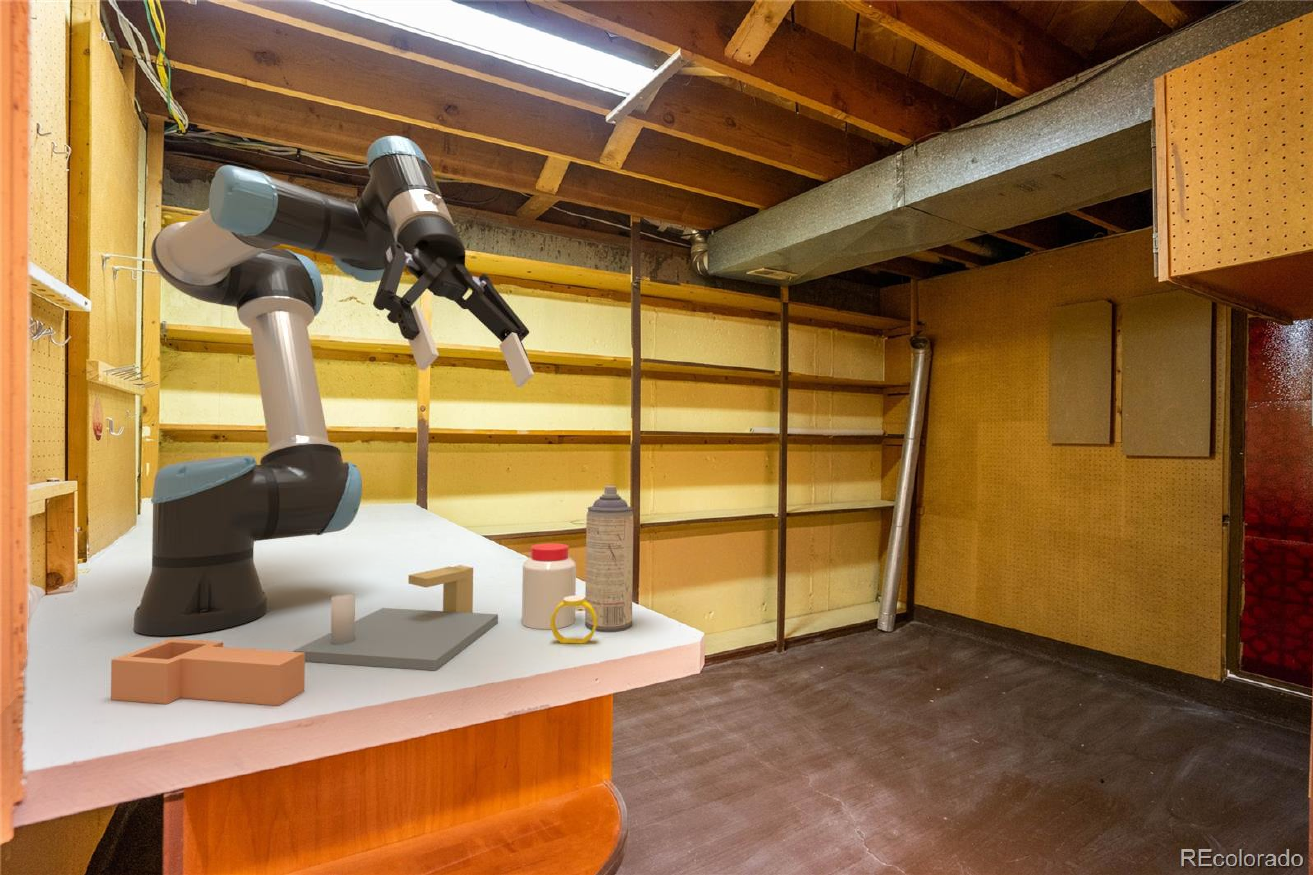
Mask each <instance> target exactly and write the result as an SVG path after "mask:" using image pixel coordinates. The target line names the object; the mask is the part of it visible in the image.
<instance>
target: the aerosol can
mask: <svg viewBox="0 0 1313 875" xmlns="http://www.w3.org/2000/svg"><path fill="white" fill-rule="evenodd" d="M617 492H618V491H617V486H613V485H612V486H610V485H609V486H604V492H603V493H602V494H601V495H600V496H599V498H597V499H596V500H595V501H594V503H593V504H592V505H591V506H588V507H587V512H586V532H585V534H586V538H585V542H586V544H585V597H584V600H585V601H586V602H588V603H589V604H591V605H592V607H593V609H594V610H595V612H596V615H597V627H596V630H595V632H600V633H615V632H621V631H625V630H628V629H630V628H631V627H632V626H633V580H634V579H633V577H634V575H633V571H634V570H633V568H634V567H633V566H634V562H633V561H634V512H633V510H634V509H633V507H631V506H629V505H628V503H627V501H626V500H625V499H623V498H622V496H619V493H617ZM584 620H585V622H584V626H585V627H586V628H587V629H589V630H591V631H592V628H593V617H592V615H591V613H590V612H589V610H588V609H587V608H585V607H584Z"/></svg>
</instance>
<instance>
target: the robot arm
mask: <svg viewBox="0 0 1313 875" xmlns="http://www.w3.org/2000/svg"><path fill="white" fill-rule="evenodd" d="M365 157H366V163H367V164H366V165H367V171H368V174H369V176H370V179H369V181H368V182H367V184H366V186H365V189H364V190H363V192H362V193H361V195H360V197H359V199H358V201H357V202H356V203H354V202H353V203H352V202H350V201H347V200H344V199H342V198H341V199H340V198H338V197H334V196H332V195H327V194H325V193H322V192H320V191H319V192H318V191H315V190H314V189H309V188H307V187H303V186H300V185H299V184H298V185H297V184H295V183H291V182H289V181H285V180H282V179H279V178H276V177H273V176H270V175H267V174H265V173H264V172H260V171H259V170H253V169H252V170H251V169H248V168H247V169H246V168H243V167H240V166H236V165H235V166H234V165H232V164H231V165H229V164H227V165H222V166H220V167H219V168H218V169H217V170H216V172H215V175H214V177H213V178H212V180H211V185H210V187H209V188H210V189H209V197H208V208H207V209H205V210H204V211H202V212H201V213H199V214H198V215H196V216H195V217H193V218H192V219H191V220H190V221H189V220H188V221H180V222H179V221H178V222H174V223H172V224H169V225H168V226H165V227H164V228H163V229H162V230H160V231H159V232H158V233H157V234H156V235H155V237H154V238H153V241H152V243H151V247H150V248H151V249H150V251H151V252H150V254H151V255H150V256H151V260H152V263H153V265H154V267H155V268H156V269H155V270H156V271H157V272H158V273H159V274H160V276H161V277H162V278H163V279H164V280H165V281H166V282H167V283H169V284H170V286H172V287H173V288H175V289H176V290H178V291H180V292H181V293H183V294H184V295H187V296H189V297H191V298H194V299H195V300H199V301H203V302H207V303H210V304H216V305H220V306H227V307H232V308H233V307H234V308H236V311H237V317H238V320H239V322H240V323H241V324H242V325H244V326H245V327H247V328H248V329H250V334H251V341H252V346H253V353H254V359H255V367H256V371H257V372H256V374H257V379H258V386H259V390H260V391H259V392H260V397H261V404H262V411H263V417H264V424H265V429H266V435H267V436H266V437H267V443H268V450H266V452H265V453H264V454H263V455H262V456H260V458H259V459H260V461H259V464H257V461H256V459H255V456H253V455H235V456H226V457H225V456H224V457H223V456H222V457H212V458H211V457H210V458H203V459H202V458H201V459H194V460H187V461H182V462H175V463H172V464H167V465H166V466H163V467H162V468H160V469H159V470H157V472H156V474H155V475H154V481H153V490H152V497H151V501H150V502H151V503H152V540H151V541H152V544H151V545H152V546H151V547H152V550H151V554H152V555H151V558H152V559H151V571H150V576H149V578H148V581H147V583H146V586H145V588H144V591H143V595H142V598H141V601H140V604H139V606H137V607H136V610H135V611H134V614H133V615H134V616H133V630H134V632H136V633H137V634H142V635H148V636H179V635H180V636H181V635H191V634H199V633H206V632H212V631H217V630H222V629H227V628H232V627H235V626H239V625H242V624H243V625H244V624H246V623H248V622H249V623H250V622H252V621H255V620H256V619H258V618H261V617H263V616H264V615H265V614H266V612H267V606H268V604H267V603H268V602H267V600H268V598H267V594H266V592H265V591H263V588H262V584H261V581H260V577H259V574H258V571H257V569H256V566H255V561H254V547H255V546H254V545H255V542H258V541H266V540H269V541H270V540H277V539H287V538H295V537H296V538H297V537H306V536H312V535H314V536H322V535H324V534H329V533H334V532H340V531H341V532H342V531H343V530H345V529H346V528H348V527H349V526H350V525H351V524H352V522H353V521H354V519H355V518H356V516H357V515H358V511H359V509H360V506H361V501H362V494H363V481H362V480H363V479H362V473H361V471H360V469H359V468H358V467H357V464H355V463H352V462H349V461H344V460H343V456H342V452H341V449H340V447H339V446H338V445H336V444H334V443H332V442H330V440H329V437H328V436H329V435H328V432H327V426H326V425H327V424H326V420H325V415H324V409H323V405H322V399H321V393H320V388H319V383H318V378H317V371H316V367H315V360H314V357H313V356H314V355H313V350H312V345H311V340H310V334H309V330H308V326H310V325H311V324H312V323H313V321H314V320H315V317H316V316H317V315H318V314H319V313H320V311H321V309H322V306H323V302H324V296H323V292H324V284H323V278H322V275H321V273H320V271H319V268H318V267H317V265H316V263H314V261H313V260H312V259H310V258H309V257H308V256H306V255H303V254H300V253H296V252H293V251H291V250H289V249H285V248H276V247H278V246H280V245H284V246H289V247H293V248H296V249H297V248H298V249H301V250H305V251H310V252H313V253H317V254H321V255H324V256H329V257H332V260H333V262H334V264H335V266H337V268H338V269H339V270H340V271H341V272H343V274H345V275H347V276H351V277H353V278H354V279H355V280H357V281H358V282H363V283H376V282H379V285H378V287H377V290H376V294H375V296H374V299H373V302H372V305H373V307H374V308H375V309H376V310H379V311H384V310H387V311H389V312H388V314H387V315H386V319H387V320H388V321H389V323H391V324H397V325H398V327H399V330H400V334H401V336H402V337H403V338H404V339H405V340H408V344H409V346H410V349H411V352H412V355H413V358H414V360H415V363H416V365H417V366H416V367H417V369H418V370H420V371H426V370H427V369H428V368H429V367H430V366H431V365H432V364H433V363H434V362H435V360H436V359H437V358H438V357H439V356H440V354H439V352H438V348H437V346H436V344H435V340H434V338H433V334H432V333H431V330H430V328H429V325H428V322H427V319H426V316H425V314H424V311H423V309H422V307H421V306H417V305H414V304H415V303H416V302H417V300H418V299H419V298H420V297H421V296H422V295H423V294H424V292H425V291H426V290H428V291H429V292H430V293H432V294H433V296H436V297H441V298H445V299H447V300H449V301H452V302H455V304H457V306H459V308H461V310H462V309H463V310H468V311H469V312H470V313H471V314H472V315H473V316H474V317H475V318H476V319H477V320H478V321H479V322H480V323H482V325H484V327H486V329H488V330H489V331H490V332H491V333H492V334H493V335H494V336H495V337H496V338H497V339H498V340H499V341H500V342H501V343H500V344H499V345H498V346H499V348H500V351H501V353H502V356H503V358H504V360H505V362H506V364H507V368H508V370H509V372H510V374H511V377H512V380H513V381H514V384H515V386H516V387H517V388H522V387H523V386H524V385H525V384H526V383H527V382H529V380H530V379H532V378H533V377H534V376H535V372H534V370H533V368H532V366H531V363H530V361H529V359H528V353H527V350H526V349H525V346H524V344H523V340H524V339H525V338H526V337H528V335H530V330H529V328H528V327H527V326H526V325H525V324H524V322H523V321H522V320H521V318H519V316H518V315H517V314H516V312H514V310H513V309H512V307H510V305H509V304H508V303H507V302H506V300H505V299H504V298H503V297H502V295H501V294H500V293H499V292H498V290H497V289H496V288H495V286H494V284H493V283H492V280H491V279H490V277H489V276H488V275H487V274H485V273H482V274H481V275H480V276H479V277H478V276H474V275H472V273H471V272H470V271H469V270H468V267H466V249H465V245H464V244H463V241H462V238H461V237H460V236H461V235H459V232H458V229H457V228H456V225H455V223H454V221H453V219H452V216H451V215H450V212H449V210H448V207H447V205H446V202H445V200H444V197H443V196H442V192H441V190H440V188H439V185H438V182H437V180H436V178H435V175H434V170H433V167H432V166H431V164H430V162H429V161H428V160H427V158H426V156H425V154H424V153H423V151H422V149H421V148H420V146H418V145H417V143H416V142H414V141H412V140H411V139H410V138H406V137H404V136H400V135H388V136H382V137H380V138H378V139H376V140H375V141H374V142H372V144H371V145H370V146H369V147H368V149H367V151H366V156H365ZM404 269H406V271H408V272H409V273H410V274H412V275H413V276H414V277H415V278H416V279H417V280H416V282H415V283H414V284H413V285H412V286H411V287H410V288H408V290H407V291H406V292H405V293H404V294H403V296H402V297H401V296H400V295H397V292H398V288H399V286H400V282H401V279H402V275H403V271H404ZM469 289H470V290H471V294H469V296H468V297H467V298H466V299H465V298H464V296H465V295H466V294H467V293H468V290H469ZM413 305H414V306H413ZM412 306H413V307H412Z"/></svg>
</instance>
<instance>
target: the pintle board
mask: <svg viewBox="0 0 1313 875" xmlns="http://www.w3.org/2000/svg"><path fill="white" fill-rule="evenodd" d="M408 584H409V585H413V586H419V587H421V588H425V589H426V588H431V587H435V586H439V585H442V586H443V593H442V597H443V598H442V610H428V609H427V610H426V609H410V608H389V607H382V608H380V609H378V610H376V611H374V612H370V613H369V614H367V615H365V616H363V617H361V618H359V619H355V617H356V595H355V594H352V593H351V594H350V593H348V594H347V593H345V594H337V595H334V596H332V597H331V605H330V606H331V610H330V614H331V615H330V623H331V624H330V628H331V629H330V633H327V634H325V635H323V636H321V637H319V638H316V639H315V640H313V641H311V642H309V643H307V644H305V645H302V646H300V647H298V648H296V649H294V650H293V651H292V652H303V653H305V663H319V664H320V663H322V664H333V665H335V664H336V665H351V666H361V667H362V666H363V667H364V666H367V667H378V668H379V667H380V668H391V669H392V668H394V669H409V670H423V671H435V672H436V671H437V670H438V669H439V668H441V667H442V666H444V665H445V664H446V663H448V662H449V661H450V660H451V659H453V658H454V657H455V656H457V655H458V654H459V653H460V652H462V651H463V650H464V649H466V648H467V647H468V646H469V645H471V644H472V643H474V642H475V641H477V639H479V638H480V637H481V636H483V635H484V634H485V633H486V632H487V631H489V630H490V629H492V627H494V626H496V625H497V624H498V623H499V614H498V613H483V612H481V613H480V612H473V610H474V602H473V601H474V567H473V566H472V567H471V566H466V565H462V564H459V565H456V566H455V565H454V566H446V567H445V566H444V567H441V568H435V569H432V570H431V569H430V570H426V571H421V572H418V573H411V574H408ZM452 657H453V658H452ZM443 664H444V665H443Z"/></svg>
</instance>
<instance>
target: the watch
mask: <svg viewBox="0 0 1313 875" xmlns="http://www.w3.org/2000/svg"><path fill="white" fill-rule="evenodd" d="M565 605H566V606H575V607H578V606H582V607H584V609H585V608H587V609H588V610H589V612H590V613H591V615H592V617H593V628H592V630H591V631H590V633H588V634H587V635H586V636H585V637H583V638H582V637H581V638H576V637H575V638H573V637H572V638H571V637H564V636H563V635H562V634H561V633H560V632H559V631H558V629H557V628H556V625H555V616H556V613H557V612H558V610H559V609H560V608H562V607H563V606H565ZM596 627H597V615H596V612H595V610H594V609H593V607H592V605H591V604H589V603H588V602H586V601H585V597H584V596H583V595H576V596H568V597H565V598H564V599H563V602H562V603H560V604H559V605H558V606H557V608H556V609H555V611H554V612H553V614H552V617H551V629H550V630H551V631H552V632H551V633H552V635H553V636H554V638H555V639H556V640H558V642H560V643H561V644H563V645H564V644H575V645H577V644H581V645H585V644H586V643H587V642H589V641H590V640H592V637H593V636H594V634H595V632H596V631H595V630H596Z"/></svg>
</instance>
